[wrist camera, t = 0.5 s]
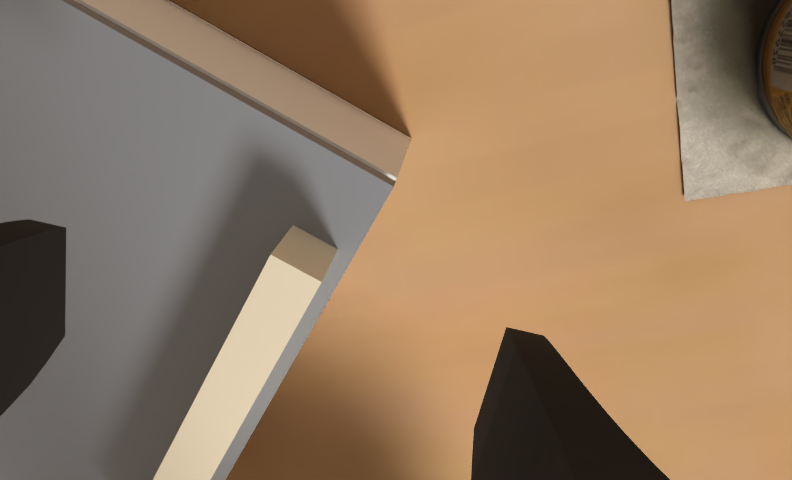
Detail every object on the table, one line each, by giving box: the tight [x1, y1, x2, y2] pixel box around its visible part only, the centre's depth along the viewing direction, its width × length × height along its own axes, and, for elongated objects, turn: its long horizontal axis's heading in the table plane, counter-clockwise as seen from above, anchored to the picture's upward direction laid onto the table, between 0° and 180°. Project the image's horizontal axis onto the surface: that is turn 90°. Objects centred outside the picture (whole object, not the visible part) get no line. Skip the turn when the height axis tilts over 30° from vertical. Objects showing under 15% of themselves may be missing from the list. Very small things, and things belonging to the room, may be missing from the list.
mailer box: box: [74, 0, 412, 181], centre depth 20 cm, size 14×18×5 cm
